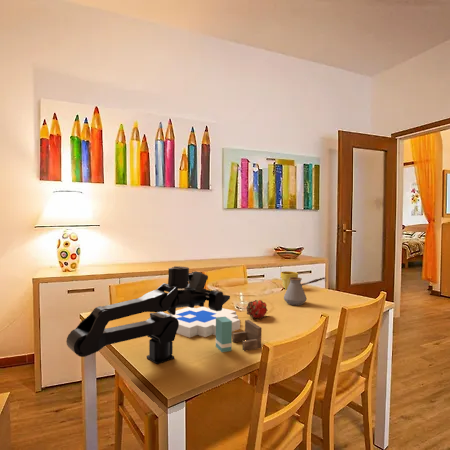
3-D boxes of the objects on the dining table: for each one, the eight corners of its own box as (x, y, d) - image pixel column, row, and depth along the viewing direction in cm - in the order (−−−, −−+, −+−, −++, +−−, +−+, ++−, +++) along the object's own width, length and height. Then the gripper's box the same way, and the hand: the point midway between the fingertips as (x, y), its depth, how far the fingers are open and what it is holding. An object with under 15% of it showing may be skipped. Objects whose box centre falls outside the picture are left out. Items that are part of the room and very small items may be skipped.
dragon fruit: (246, 324, 150) (262, 322, 158) (260, 315, 145) (276, 313, 154) (238, 305, 154) (255, 304, 162) (252, 296, 149) (268, 296, 158)
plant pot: (301, 289, 210) (301, 273, 209) (287, 291, 204) (288, 274, 204) (289, 286, 218) (290, 270, 218) (276, 288, 213) (277, 271, 213)
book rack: (244, 351, 117) (244, 330, 117) (232, 341, 126) (232, 321, 125) (261, 348, 120) (261, 327, 119) (248, 338, 128) (248, 319, 128)
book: (221, 352, 116) (222, 322, 115) (215, 346, 121) (215, 317, 121) (231, 350, 117) (232, 321, 117) (225, 344, 122) (225, 316, 122)
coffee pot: (279, 304, 176) (280, 274, 176) (288, 299, 186) (289, 271, 185) (321, 311, 165) (322, 279, 164) (329, 305, 174) (329, 275, 174)
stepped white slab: (205, 332, 124) (154, 316, 141) (205, 344, 124) (154, 326, 142) (251, 315, 145) (202, 303, 163) (251, 324, 145) (201, 311, 163)
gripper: (204, 277, 109) (240, 276, 119) (171, 269, 123) (206, 268, 133) (202, 313, 109) (238, 308, 119) (169, 301, 123) (204, 298, 133)
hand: (221, 294), depth 126 cm, fingers open, 9 cm apart
